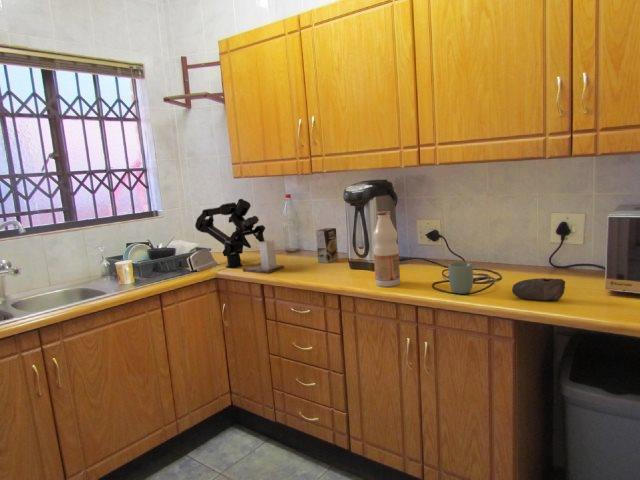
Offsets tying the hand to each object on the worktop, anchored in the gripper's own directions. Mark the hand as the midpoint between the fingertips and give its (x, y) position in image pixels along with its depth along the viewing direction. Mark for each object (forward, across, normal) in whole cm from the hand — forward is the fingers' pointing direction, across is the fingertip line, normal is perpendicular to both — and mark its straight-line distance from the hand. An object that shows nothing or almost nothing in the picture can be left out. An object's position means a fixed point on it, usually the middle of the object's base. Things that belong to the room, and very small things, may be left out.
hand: (257, 245), depth 215 cm
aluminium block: (+12, 0, +3) cm, 12 cm away
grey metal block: (-16, -8, +33) cm, 38 cm away
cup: (+79, +2, -63) cm, 101 cm away
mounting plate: (+10, +1, +7) cm, 12 cm away
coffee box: (+23, +27, -6) cm, 36 cm away
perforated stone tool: (+96, +3, -80) cm, 124 cm away
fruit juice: (+58, +1, -42) cm, 72 cm away
